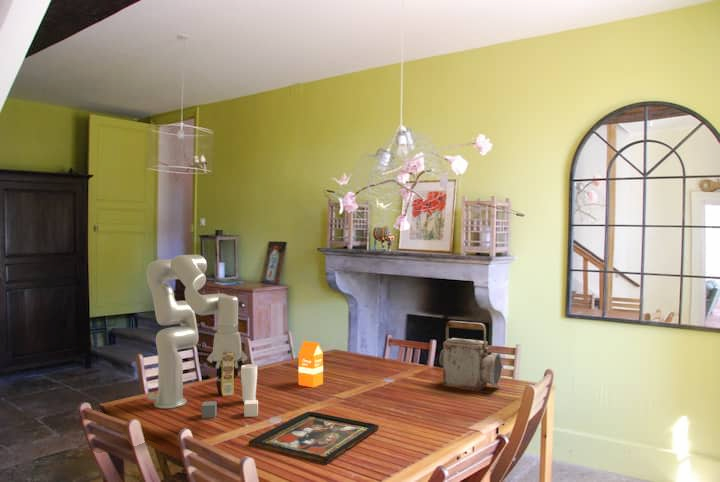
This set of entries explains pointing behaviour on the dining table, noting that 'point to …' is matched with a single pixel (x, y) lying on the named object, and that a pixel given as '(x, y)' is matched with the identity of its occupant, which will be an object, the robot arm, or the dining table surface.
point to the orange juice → (310, 364)
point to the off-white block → (250, 408)
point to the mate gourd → (219, 387)
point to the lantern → (469, 360)
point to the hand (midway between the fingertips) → (227, 377)
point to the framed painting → (314, 436)
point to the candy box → (227, 374)
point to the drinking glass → (249, 381)
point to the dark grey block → (209, 409)
